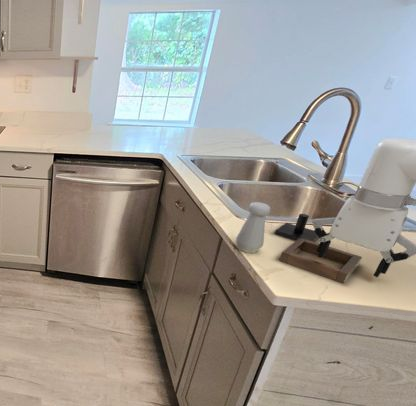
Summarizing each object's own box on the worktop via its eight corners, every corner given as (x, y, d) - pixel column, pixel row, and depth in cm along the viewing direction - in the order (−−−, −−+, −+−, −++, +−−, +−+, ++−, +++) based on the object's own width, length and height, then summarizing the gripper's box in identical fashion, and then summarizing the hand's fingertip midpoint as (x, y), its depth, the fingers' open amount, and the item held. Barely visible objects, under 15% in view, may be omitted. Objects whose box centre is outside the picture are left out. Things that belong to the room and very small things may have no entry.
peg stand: (320, 236, 101) (328, 216, 98) (310, 245, 97) (318, 224, 94) (285, 226, 107) (291, 206, 105) (274, 234, 103) (280, 214, 100)
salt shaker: (251, 243, 98) (264, 199, 93) (266, 254, 93) (281, 208, 88) (229, 243, 99) (241, 199, 94) (242, 255, 93) (256, 209, 88)
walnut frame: (358, 265, 88) (362, 256, 87) (343, 283, 81) (347, 274, 80) (296, 245, 97) (299, 237, 96) (278, 260, 91) (282, 252, 90)
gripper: (445, 206, 73) (405, 276, 80) (332, 182, 86) (306, 244, 93) (439, 216, 69) (398, 289, 76) (322, 189, 82) (296, 253, 89)
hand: (348, 264), depth 85 cm, fingers open, 9 cm apart
